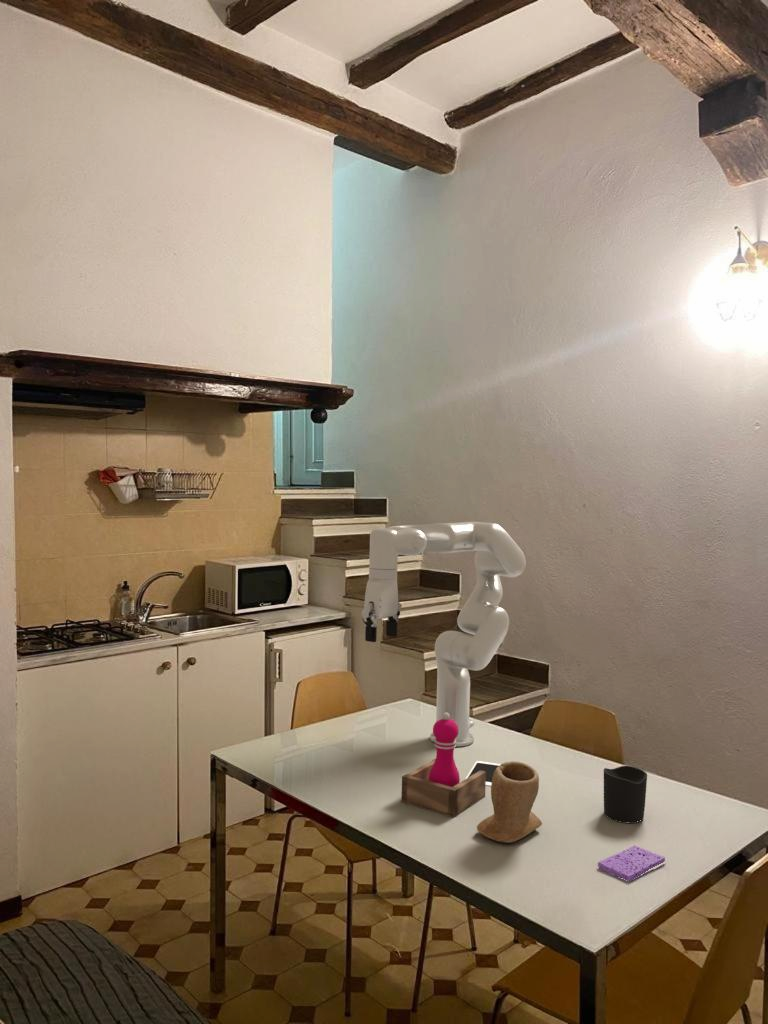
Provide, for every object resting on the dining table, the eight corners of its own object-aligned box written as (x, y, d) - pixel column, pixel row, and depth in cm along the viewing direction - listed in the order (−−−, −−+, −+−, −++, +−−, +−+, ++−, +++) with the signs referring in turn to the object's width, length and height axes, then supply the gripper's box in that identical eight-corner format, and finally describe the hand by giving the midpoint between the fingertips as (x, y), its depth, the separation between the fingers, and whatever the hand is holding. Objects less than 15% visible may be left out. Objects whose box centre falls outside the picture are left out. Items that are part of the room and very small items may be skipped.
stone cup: (515, 854, 159) (518, 780, 158) (469, 835, 167) (471, 764, 167) (556, 832, 170) (559, 763, 169) (511, 815, 178) (513, 749, 178)
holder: (434, 782, 196) (435, 758, 196) (485, 796, 188) (485, 771, 188) (401, 801, 184) (402, 776, 184) (454, 817, 176) (454, 790, 176)
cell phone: (463, 783, 197) (463, 781, 197) (476, 762, 212) (476, 760, 212) (494, 788, 195) (494, 786, 195) (505, 767, 210) (505, 764, 210)
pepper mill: (459, 792, 189) (461, 709, 188) (459, 804, 182) (461, 718, 181) (428, 790, 190) (431, 707, 189) (427, 802, 182) (430, 716, 182)
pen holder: (644, 827, 173) (646, 782, 173) (600, 820, 177) (602, 776, 176) (646, 811, 182) (647, 768, 182) (604, 804, 185) (605, 762, 185)
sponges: (665, 866, 157) (665, 857, 157) (628, 885, 149) (628, 875, 149) (634, 853, 162) (634, 844, 162) (597, 870, 154) (597, 861, 154)
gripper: (389, 571, 220) (387, 632, 221) (352, 576, 206) (350, 641, 207) (412, 573, 216) (410, 636, 217) (376, 578, 202) (374, 645, 202)
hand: (381, 638), depth 212 cm, fingers open, 9 cm apart
